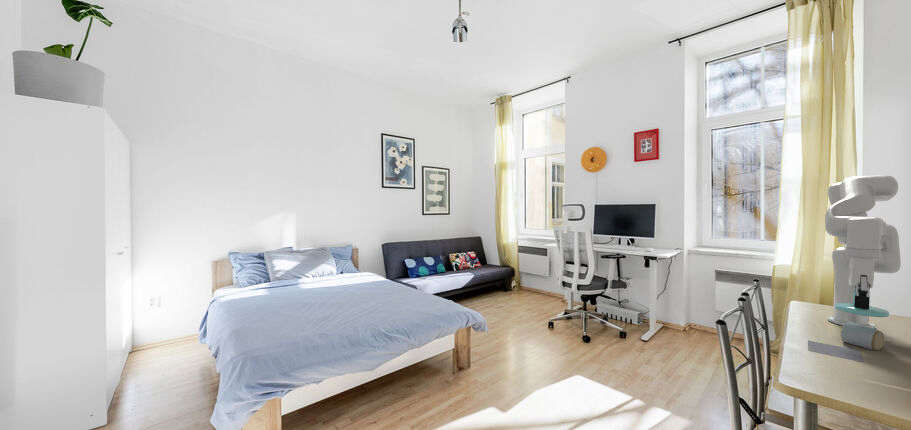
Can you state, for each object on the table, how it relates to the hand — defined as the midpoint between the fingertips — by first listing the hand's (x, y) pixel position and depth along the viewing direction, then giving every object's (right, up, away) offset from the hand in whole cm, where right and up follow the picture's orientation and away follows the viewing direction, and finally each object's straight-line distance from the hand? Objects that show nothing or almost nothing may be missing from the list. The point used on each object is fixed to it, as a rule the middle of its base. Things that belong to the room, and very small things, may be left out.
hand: (860, 306), depth 117 cm
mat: (-13, -14, -3) cm, 20 cm away
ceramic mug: (+2, -14, +1) cm, 15 cm away
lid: (0, -2, 0) cm, 2 cm away
